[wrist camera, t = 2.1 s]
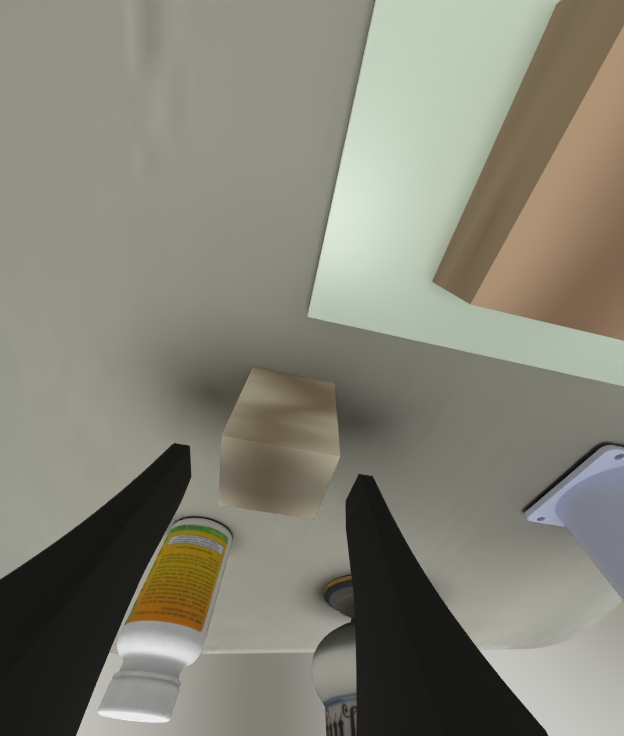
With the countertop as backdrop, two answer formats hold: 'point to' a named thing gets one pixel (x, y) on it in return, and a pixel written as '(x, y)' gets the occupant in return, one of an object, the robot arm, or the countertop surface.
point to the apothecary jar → (338, 663)
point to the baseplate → (434, 182)
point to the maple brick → (280, 445)
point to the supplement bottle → (168, 622)
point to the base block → (554, 185)
